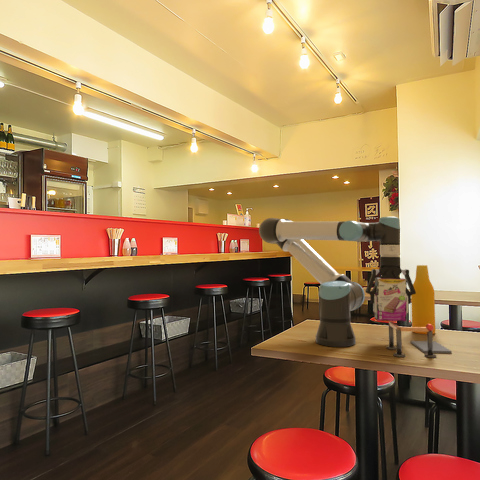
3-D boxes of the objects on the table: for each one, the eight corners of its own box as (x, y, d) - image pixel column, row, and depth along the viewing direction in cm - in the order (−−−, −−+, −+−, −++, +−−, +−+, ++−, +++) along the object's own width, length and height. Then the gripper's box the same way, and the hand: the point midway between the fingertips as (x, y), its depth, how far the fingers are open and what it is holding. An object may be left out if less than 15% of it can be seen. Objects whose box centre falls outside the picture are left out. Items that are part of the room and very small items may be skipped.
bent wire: (395, 357, 131) (394, 324, 131) (385, 347, 144) (384, 317, 144) (438, 358, 129) (437, 325, 129) (423, 347, 142) (423, 318, 143)
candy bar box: (377, 321, 151) (377, 278, 152) (374, 318, 156) (374, 277, 156) (407, 321, 150) (407, 278, 150) (403, 319, 155) (402, 277, 155)
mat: (424, 353, 135) (424, 350, 135) (410, 342, 150) (410, 340, 150) (451, 353, 134) (451, 351, 134) (435, 343, 149) (435, 341, 149)
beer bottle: (422, 335, 164) (420, 265, 164) (407, 331, 172) (405, 265, 173) (440, 333, 166) (438, 265, 167) (424, 329, 175) (423, 264, 176)
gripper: (360, 256, 151) (361, 313, 151) (424, 256, 148) (425, 314, 148) (357, 255, 159) (357, 310, 158) (418, 256, 156) (418, 311, 155)
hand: (390, 312), depth 153 cm, fingers closed on candy bar box, 11 cm apart
